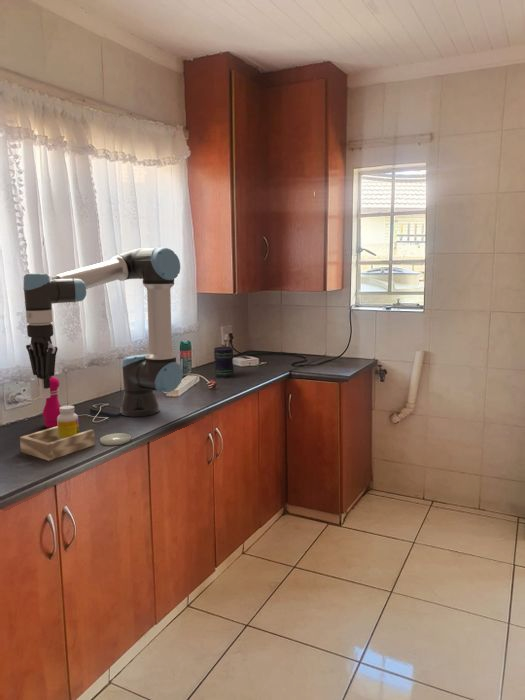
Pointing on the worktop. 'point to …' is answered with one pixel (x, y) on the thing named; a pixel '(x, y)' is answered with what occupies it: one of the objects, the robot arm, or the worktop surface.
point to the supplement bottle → (67, 422)
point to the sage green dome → (115, 439)
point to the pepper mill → (52, 404)
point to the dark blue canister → (223, 362)
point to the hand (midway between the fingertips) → (45, 397)
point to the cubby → (54, 443)
